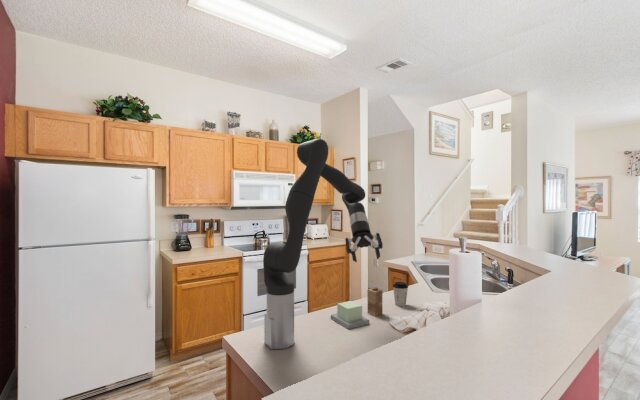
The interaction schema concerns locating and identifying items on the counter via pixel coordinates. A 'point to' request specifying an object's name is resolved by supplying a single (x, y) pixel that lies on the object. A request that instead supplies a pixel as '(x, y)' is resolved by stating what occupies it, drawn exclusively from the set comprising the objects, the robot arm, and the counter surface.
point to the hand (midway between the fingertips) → (366, 259)
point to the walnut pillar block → (375, 301)
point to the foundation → (349, 315)
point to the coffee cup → (400, 293)
